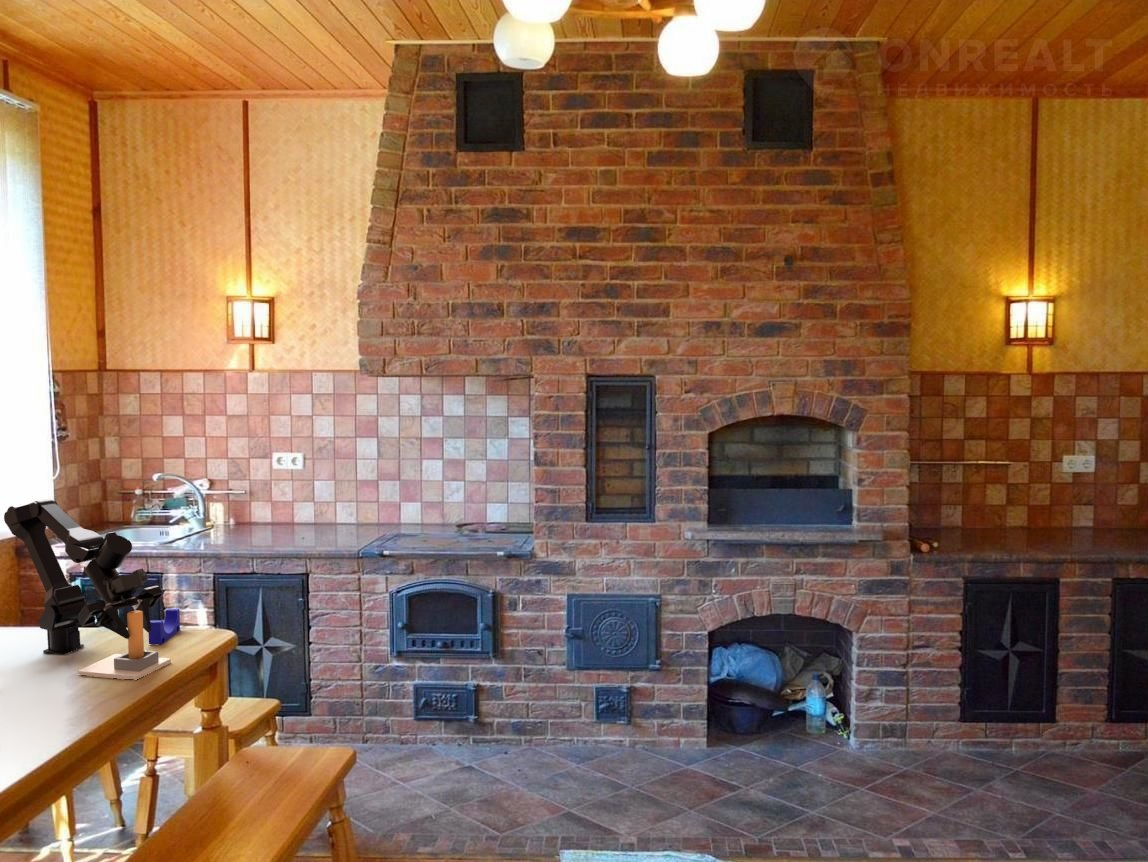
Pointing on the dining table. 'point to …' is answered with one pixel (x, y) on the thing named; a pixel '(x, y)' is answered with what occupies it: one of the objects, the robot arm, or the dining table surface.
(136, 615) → the toggle bar
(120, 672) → the keeper plate
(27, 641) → the dining table surface
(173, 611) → the cable clip
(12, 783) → the dining table surface
